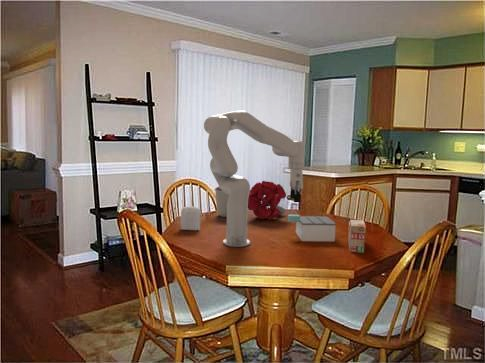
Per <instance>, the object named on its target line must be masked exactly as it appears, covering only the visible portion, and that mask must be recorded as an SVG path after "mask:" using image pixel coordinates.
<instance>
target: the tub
mask: <svg viewBox="0 0 485 363" xmlns="http://www.w3.org/2000/svg"><path fill="white" fill-rule="evenodd" d="M295 223H296V224H295V234H296V235H297V237H298V238H299V239H300V241H302V242H335V240H336V227H337V224H336V225H302V224H301V223H300V222H295Z"/></svg>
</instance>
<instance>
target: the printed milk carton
mask: <svg viewBox="0 0 485 363" xmlns="http://www.w3.org/2000/svg"><path fill="white" fill-rule="evenodd" d="M366 228H367V226H366V223H365V221H364V220H362V219H361V220H359V219H349V221H348V234H347V241H348V242H347V243H348V249H349V253H360V254H364V253H365V241H366Z"/></svg>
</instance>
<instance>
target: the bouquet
mask: <svg viewBox="0 0 485 363" xmlns="http://www.w3.org/2000/svg"><path fill="white" fill-rule="evenodd" d="M286 197H287V194H286V191H285V189H284V187H283V186H282V185H281V184H280V183H278V184H276V183H274V181H266V180H262V181H261V182H256V183H255V184H254V185H253V186H252V187H250V193H249V197H248V211H252V212H253V214H254V215H255V217H257V218H258V219H259V220H260V219H261V220H265V219H266V220H273V219H275V218H277V217H279V216H284V215H285V213H286V209H285V208H284V207H283V206H281V205H279V204H280V203H281V200H282V199H283V200H284V199H285V198H286Z"/></svg>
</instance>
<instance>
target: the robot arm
mask: <svg viewBox="0 0 485 363" xmlns="http://www.w3.org/2000/svg"><path fill="white" fill-rule="evenodd" d="M203 130H204V131H205V132H206V134H208V140H207V147H208V150H209V153H210V155H211V159H210V163H209V167H210V172H211V173H212V176H213V178H214V179H215V181H216V183H217V185H218V187H220V188H221V190H222V191H223V192H225V193H227V194H229V198H228V202H227V217H226V233H225V234H226V236H225V237H226V238H224V239H223V240H222V244H223V245H225V246H228V247H230V248H231V247H232V248H240V247H241V248H242V247H247V246H249V245H250V244H251V241H250V240H249V239H248V211H249V209H248V197H249V193H250V190H251V185H250V182H249V181H248V180H249V179H247V178H246V177H243V176H242V175H241V176H240V175H237V173H238V169H239V168H238V167H239V166H238V163H237V161H236V159H235V156H234V154H233V153H232V151H231V149H230V146H229V144H228V135H229V133H230V131H234V130H239V131H240V132H242V133H244V134H245V135H247V136H248V137H250V138H251V139H253V140H255V141H256V142H259V143H261V144H263V145H267V146H270V147H271V149H272V152H273V154H274V155H276V156H278V157H287V158H288V165H287V166H288V167H287V168H288V170H290V172H289V187H290V196H289V197H290V199H292V200H293V202H294V203H301V202H302V200H301V197H302V195H301V194H302V192H301V190H303V189H304V177H303V170H304V168H305V166H304V165H305V142H304V141H302V140H293V139H292V138H291V137H289V136H287V135H286V134H284V133H282V132H280V131H278V130H276V129H274V128H272V127H270V126H268V125H266V124H265V123H264V122H262V121H260V119H258V118H256V117H255V116H254V115H252V114H251V113H249V112H248V111H247V110H246V111H245V110H235V111H234V110H233V111H230V112H226V113H225V112H224V113H220V114H216V115H210V116H209V117H207V118H206V119H205V121H204V122H203Z"/></svg>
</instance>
